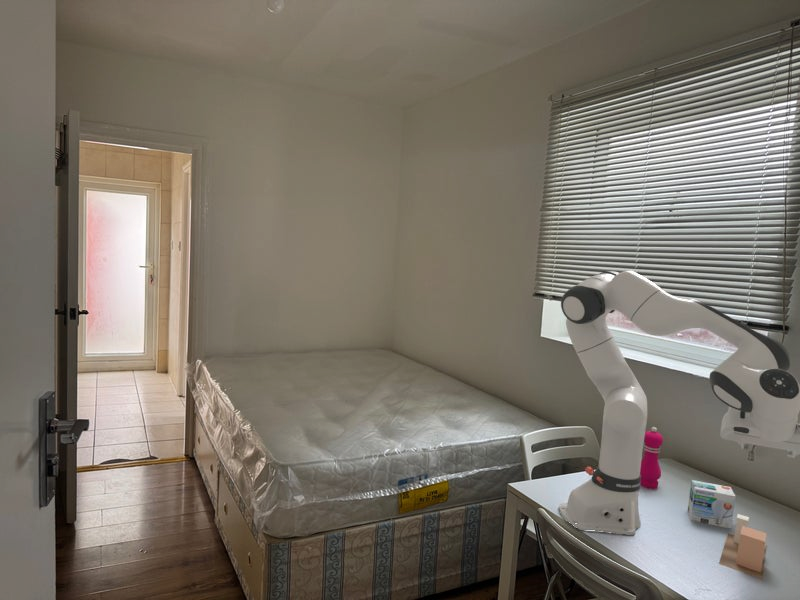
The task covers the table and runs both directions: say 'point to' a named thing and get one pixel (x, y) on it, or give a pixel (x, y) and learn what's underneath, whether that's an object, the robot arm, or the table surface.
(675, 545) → the table surface
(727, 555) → the board
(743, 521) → the post
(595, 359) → the robot arm
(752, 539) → the peach rectangular block
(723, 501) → the light bulb box
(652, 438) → the pepper mill
